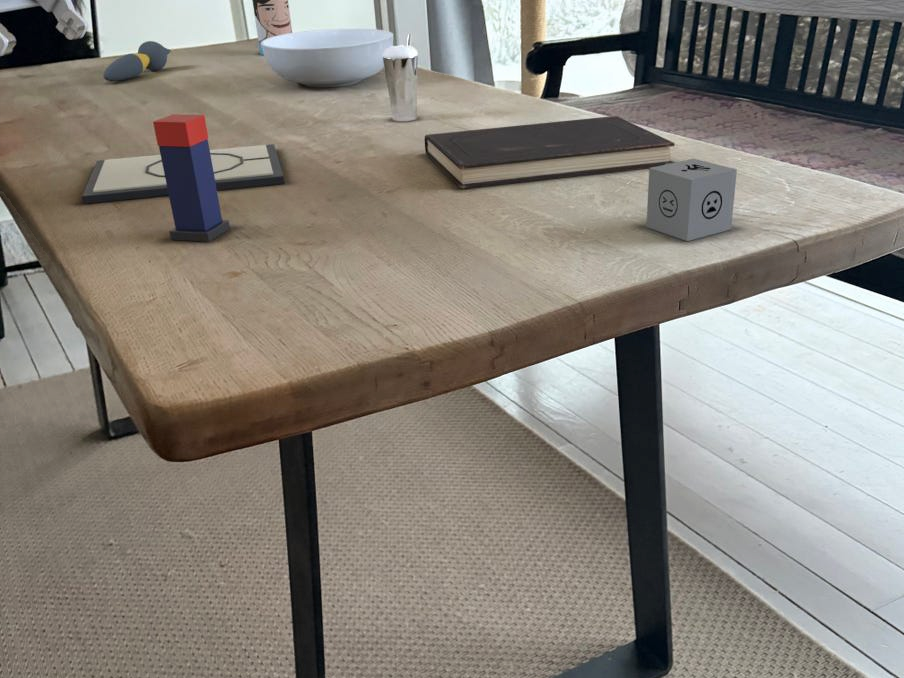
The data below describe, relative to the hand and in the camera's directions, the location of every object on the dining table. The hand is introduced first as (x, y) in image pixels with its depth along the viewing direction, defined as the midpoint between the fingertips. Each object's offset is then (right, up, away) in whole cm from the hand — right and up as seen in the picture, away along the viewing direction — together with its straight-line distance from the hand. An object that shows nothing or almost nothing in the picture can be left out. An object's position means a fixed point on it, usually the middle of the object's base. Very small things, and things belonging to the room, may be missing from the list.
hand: (46, 41), depth 80 cm
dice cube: (+54, -16, +1) cm, 56 cm away
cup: (-4, +44, +108) cm, 117 cm away
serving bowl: (+13, +25, +74) cm, 79 cm away
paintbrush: (-24, +32, +89) cm, 98 cm away
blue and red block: (+12, -15, +5) cm, 20 cm away
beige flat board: (+4, -4, +24) cm, 25 cm away
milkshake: (+27, +9, +47) cm, 54 cm away
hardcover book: (+43, -3, +24) cm, 50 cm away
